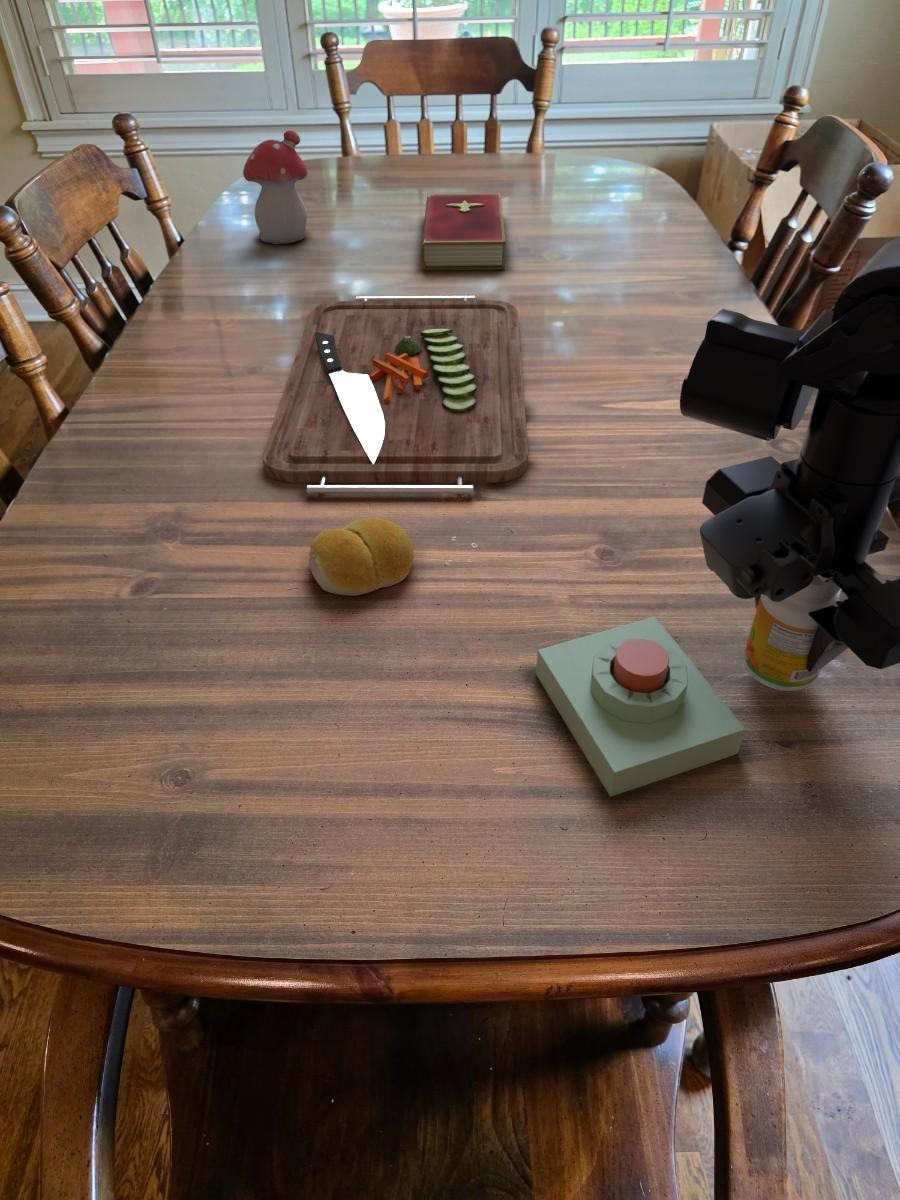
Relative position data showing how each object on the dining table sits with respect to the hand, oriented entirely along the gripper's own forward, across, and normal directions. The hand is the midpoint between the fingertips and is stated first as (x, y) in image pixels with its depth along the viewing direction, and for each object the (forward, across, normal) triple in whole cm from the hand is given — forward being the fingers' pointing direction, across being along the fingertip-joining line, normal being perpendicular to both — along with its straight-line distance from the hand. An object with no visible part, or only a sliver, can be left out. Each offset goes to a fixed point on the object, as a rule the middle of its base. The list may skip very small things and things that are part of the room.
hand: (787, 642), depth 63 cm
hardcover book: (+4, -93, +11) cm, 94 cm away
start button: (0, -1, -12) cm, 12 cm away
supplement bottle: (+3, 0, 0) cm, 3 cm away
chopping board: (+4, -54, -12) cm, 55 cm away
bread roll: (+4, -24, -26) cm, 35 cm away
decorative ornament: (+4, -106, -14) cm, 107 cm away
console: (+4, -1, -12) cm, 12 cm away
